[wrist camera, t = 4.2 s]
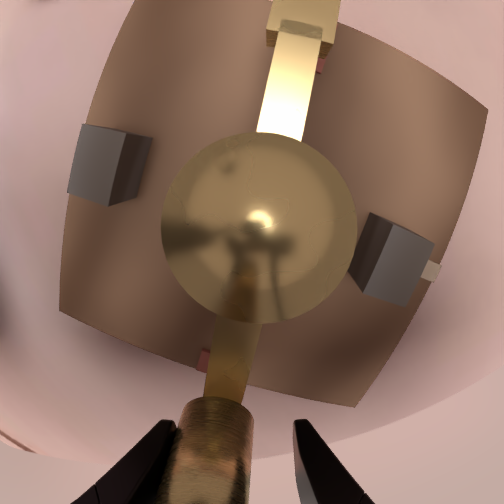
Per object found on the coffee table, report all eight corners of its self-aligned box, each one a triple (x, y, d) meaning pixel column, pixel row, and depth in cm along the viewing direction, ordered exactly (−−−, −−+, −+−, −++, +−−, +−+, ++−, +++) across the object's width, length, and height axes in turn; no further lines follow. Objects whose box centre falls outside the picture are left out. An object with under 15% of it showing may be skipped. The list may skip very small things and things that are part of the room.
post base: (71, 300, 14) (29, 336, 10) (152, -5, 9) (119, -45, 6) (350, 392, 15) (365, 445, 11) (473, 111, 10) (526, 104, 6)
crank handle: (162, 403, 10) (115, 527, 5) (228, -3, 6) (184, -148, 1) (273, 426, 10) (271, 558, 5) (378, 30, 6) (487, -78, 1)
